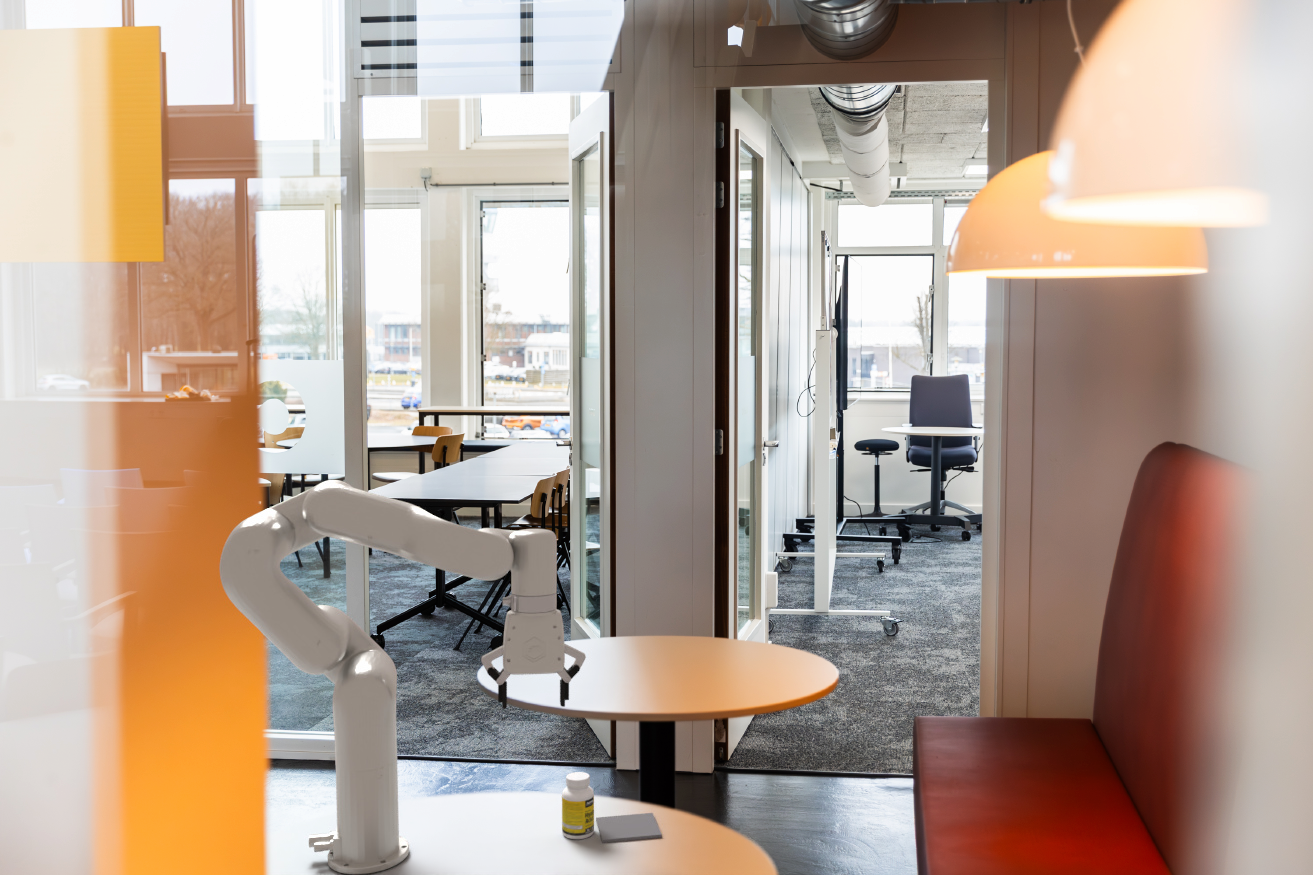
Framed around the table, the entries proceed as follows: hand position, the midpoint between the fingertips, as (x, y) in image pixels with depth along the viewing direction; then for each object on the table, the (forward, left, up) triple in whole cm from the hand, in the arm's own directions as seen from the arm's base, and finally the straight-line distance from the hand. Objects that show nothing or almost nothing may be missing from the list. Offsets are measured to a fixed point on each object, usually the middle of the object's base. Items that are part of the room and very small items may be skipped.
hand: (533, 705), depth 161 cm
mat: (+16, 0, -22) cm, 27 cm away
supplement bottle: (+7, 0, -23) cm, 24 cm away
